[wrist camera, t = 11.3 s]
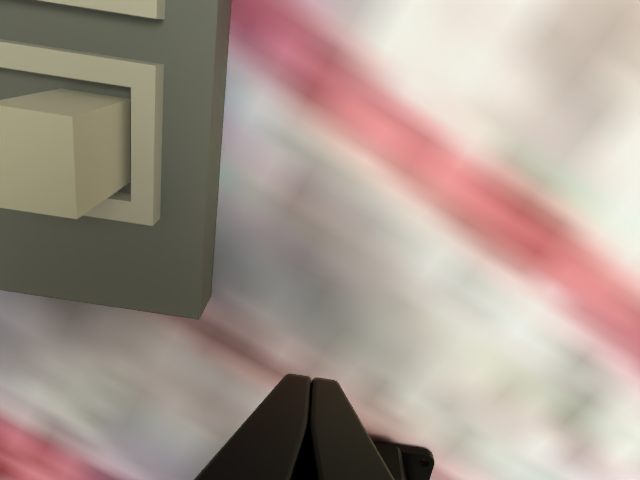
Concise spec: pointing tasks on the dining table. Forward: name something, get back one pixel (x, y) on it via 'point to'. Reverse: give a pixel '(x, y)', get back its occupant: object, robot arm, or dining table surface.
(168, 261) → the panel
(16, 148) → the offwhite knob
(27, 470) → the dining table surface
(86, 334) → the dining table surface
